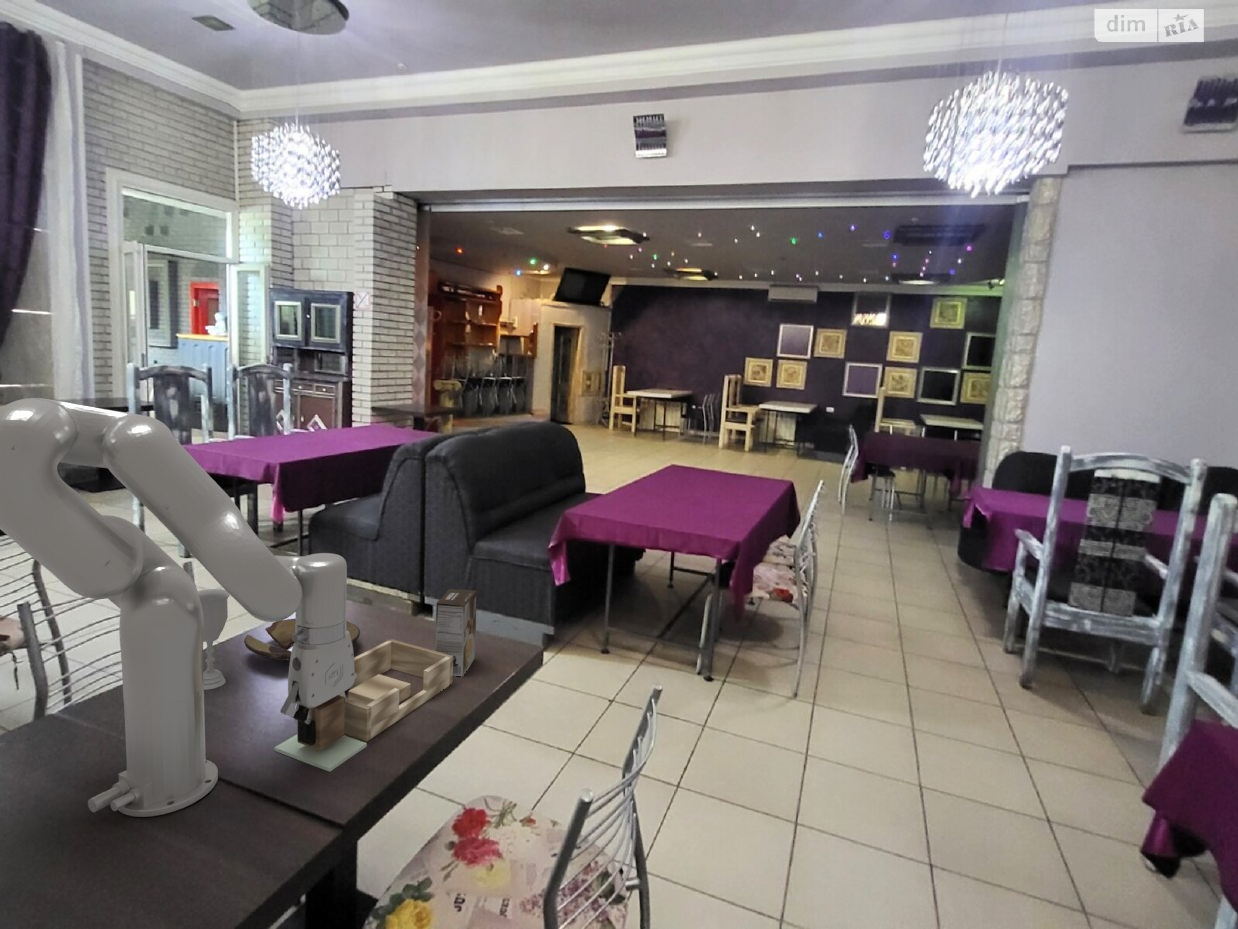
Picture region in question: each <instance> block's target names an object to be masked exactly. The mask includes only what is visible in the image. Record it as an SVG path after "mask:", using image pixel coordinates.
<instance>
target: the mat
mask: <svg viewBox="0 0 1238 929" xmlns="http://www.w3.org/2000/svg"><path fill="white" fill-rule="evenodd" d="M367 747H368V743H367V742H366V741H363V740H360V739H357V738H354V737H351V736H348V735H346V734H344V736H343V737H341V738H340V739H338V740H337V741H335V742H333V743H332V744H330V745H329V746H327V747H326V748H324V749H322V750H321V751H320V750H317V749H314V748H311V747H309V746H306V745H303V744H301V743H298V742H297V734H295V735H293V736H291V737H290V738H288V739H286V740H285V741H283V742H281V743H280V744H278V745H276V746H274V748H273V749H274V751H275V752H277V753H280V754H282V755H285V756H287V757H290V758H293V759H295V760H298V761H299V762H303V763H304V764H308V765H311V766H313V767H316V768H318V769H322V770H324V771H326V772H332V771H333V770H335V769H336V768H337V767H339V766H340V765H342V764H344V763H345V762H346V761H348V760H349V759H351V758H352V757H353V756H355V755H357V754H358V753H359V752H361V751H362V750H364V749H366V748H367Z"/></svg>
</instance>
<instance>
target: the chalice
mask: <svg viewBox="0 0 1238 929" xmlns="http://www.w3.org/2000/svg"><path fill="white" fill-rule="evenodd" d="M197 591H198V595H199V598H200V601H201V605H202V610H203V618H204V638H203V643H206V649H205V650H204V652H205V653H206V655H207V656H206V659H205V660H204V662H206V664H207V666H206V669H205V670H203V684H204V691H206V690H213V689H216V688H220V687H221V686H223V685H225V684H226V682H227V680H226V679H225V677H224V675H223V674H222V671H220V670H219V669H217V668H215V667H214V662H215V661H216V658H215V657H214V652H215V648H214V642H215V641H217V640H218V639H219V638H220V636H221V635H222V632H223V630H224V628H225V626H226V623H227V620H228V617H229V615H228V614H229V611H228V599H229V597H230V596H231V595H230V594H229V593H228V592H227V591H226V590H225V589H220V588H219V589H218V588H210V589H209V588H208V589H201V590H197Z"/></svg>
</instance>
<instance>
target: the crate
mask: <svg viewBox="0 0 1238 929" xmlns="http://www.w3.org/2000/svg"><path fill="white" fill-rule="evenodd" d="M354 666H355V673H356V674H357V677H356V679H355V680H354V684H353V685H352V686H351V687H350V690H349V691H348V693H347V696H348V697H347V698H346V702H345V703H344V735H345V736H348V737H351V738H354V739H357V740H359V741H362V742H365V743H367V742H369V741H370V740H371V739H373V738H374V737H376V736H378V735H379V734H380V733H382V732H383V731H385V730H386V729H388V728H389V727H391V726H392V725H394V724H395V723H396V722H398V721H400V720H401V719H402V718H404V717H406V716H407V715H408V714H410V713H412V712H413V711H414V710H416V709H417V708H419V707H420V706H421V705H423V704H424V703H426V702H427V701H429V700H431V699H433V697H435V696H436V695H438V694H440V693H441V692H443V691H444V690H445V689H447V688H448V687H450V686H451V685H453V682H454V681H453V677H454V676H453V656H451V655H448V654H444V653H440V652H437V651H435V650H432V649H430V648H425V647H422V646H419V645H414V644H410V643H408V642H407V643H406V642H403V641H400V640H396V639H390V638H389V639H388V640H386V641H384V642H383V643H380V644H379V645H377V646H375V647H373V648H371V649H369V650H367V651H365V652H363V653H361V654H359V655H357V656H354ZM391 669H392V670H395V671H399V672H402V673H405V674H407V675H412V676H415V677H419V678H422V679H423V684H422V690H421V691H420V692H419V691H418V692H417V693H416V694H415V695H413V696H412V697H410V696H411V695H412V694H411V692H412V690H411V689H412V688H411V687H412V684H411V682H410V683H409V682H406V681H403V680H399V679H397V678H393V677H389V676H386V675H383V674H384V673H387V671H390V670H391ZM450 684H451V685H450ZM449 685H450V686H449ZM443 689H444V690H443ZM440 691H441V692H440ZM409 697H410V698H409ZM408 698H409V699H408ZM406 699H407V700H406ZM404 700H405V701H404ZM403 701H404V702H403ZM400 703H401V704H400Z"/></svg>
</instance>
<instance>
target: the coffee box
mask: <svg viewBox="0 0 1238 929" xmlns="http://www.w3.org/2000/svg"><path fill="white" fill-rule="evenodd" d="M477 595H478V590H474V589H473V590H471V589H470V590H469V589H458V588H457V589H454V588H449V589H448V590H447V591H446V592H445V593H444V594H443V596H442V597H441V598H439V600H438V601H437V602H436V606H435V607H436V610H435V611H436V613H435V614H436V616H435V649H434V651H437V652H440V653H444V654H448V655H451V656H453V677H456V676H461V677H460V678H463V677H464V676H465V675H466V673H467V672H468V670H469V669H470V667H471V665H472V663H473V662H474V660H475V659H476V656H475V655H476V632H477V631H476V630H477V629H476V628H477V625H476V624H477V599H478V597H477ZM466 671H467V672H466ZM464 674H465V675H464ZM462 676H463V677H462Z"/></svg>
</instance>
